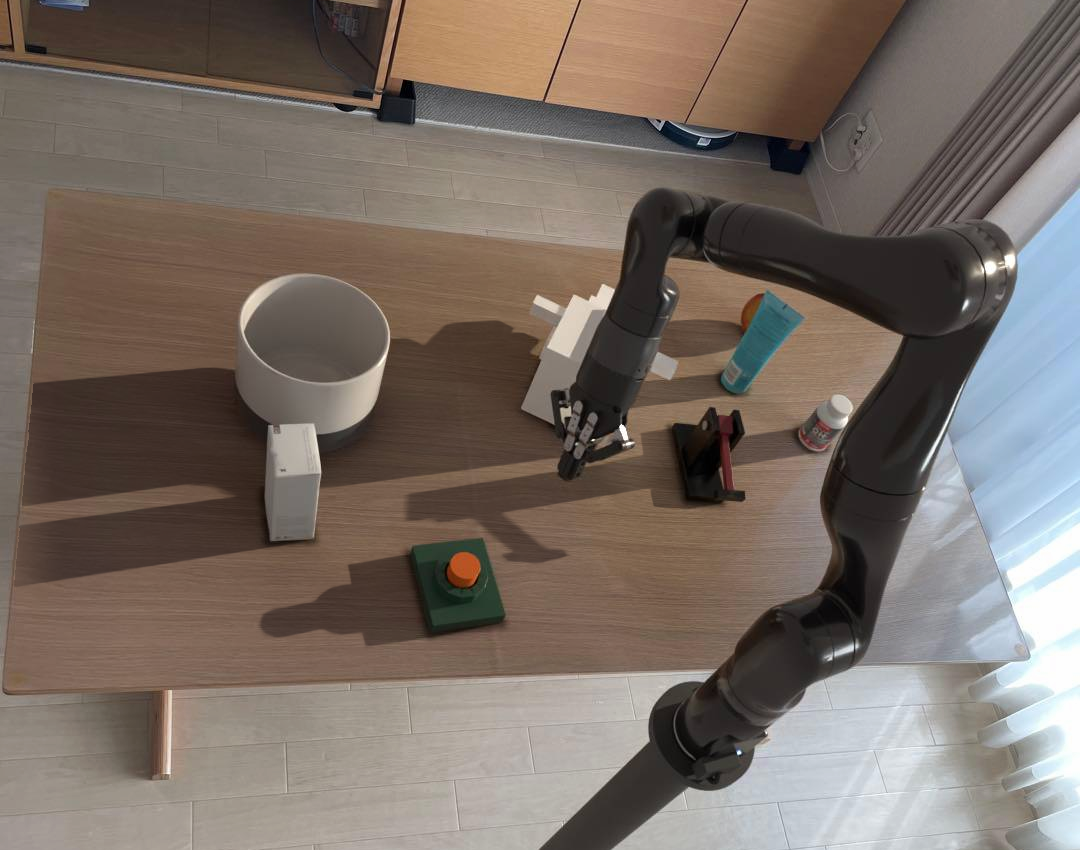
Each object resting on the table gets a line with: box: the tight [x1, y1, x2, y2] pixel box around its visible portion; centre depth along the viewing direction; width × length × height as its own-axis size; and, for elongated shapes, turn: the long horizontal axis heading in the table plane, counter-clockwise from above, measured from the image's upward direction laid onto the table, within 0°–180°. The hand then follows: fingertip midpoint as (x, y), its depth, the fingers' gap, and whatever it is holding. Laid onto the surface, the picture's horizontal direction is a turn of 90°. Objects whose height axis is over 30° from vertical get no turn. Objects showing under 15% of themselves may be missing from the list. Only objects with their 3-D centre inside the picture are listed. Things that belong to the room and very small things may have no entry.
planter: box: [233, 273, 391, 454], centre depth 136 cm, size 19×19×18 cm
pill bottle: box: [798, 394, 854, 452], centre depth 165 cm, size 5×5×10 cm
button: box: [446, 552, 480, 588], centre depth 131 cm, size 4×4×3 cm
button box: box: [409, 537, 507, 634], centre depth 133 cm, size 12×10×4 cm
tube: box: [720, 289, 806, 394], centre depth 164 cm, size 7×5×19 cm, turn 57°
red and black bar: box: [714, 414, 747, 503], centre depth 149 cm, size 13×4×2 cm, turn 6°
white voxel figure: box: [520, 283, 680, 448], centre depth 158 cm, size 15×25×28 cm
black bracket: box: [670, 406, 746, 504], centre depth 154 cm, size 14×6×12 cm, turn 5°
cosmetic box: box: [264, 423, 322, 542], centre depth 128 cm, size 8×6×15 cm
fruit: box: [740, 292, 765, 334], centre depth 177 cm, size 8×8×8 cm
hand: (566, 477), depth 125 cm, fingers closed
